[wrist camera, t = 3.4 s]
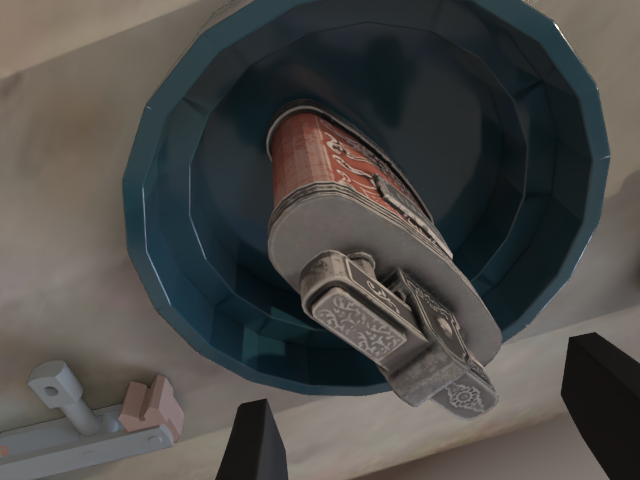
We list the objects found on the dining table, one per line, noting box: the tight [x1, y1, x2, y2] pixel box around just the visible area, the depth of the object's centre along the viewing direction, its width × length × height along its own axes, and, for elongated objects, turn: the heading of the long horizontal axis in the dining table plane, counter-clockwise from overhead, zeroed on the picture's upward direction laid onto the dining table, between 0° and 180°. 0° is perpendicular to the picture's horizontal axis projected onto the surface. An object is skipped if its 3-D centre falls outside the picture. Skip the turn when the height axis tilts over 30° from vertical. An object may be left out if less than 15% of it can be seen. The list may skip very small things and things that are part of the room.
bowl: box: [122, 0, 610, 396], centre depth 17 cm, size 15×15×4 cm
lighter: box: [266, 99, 502, 421], centre depth 15 cm, size 8×3×10 cm, turn 45°
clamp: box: [0, 360, 185, 480], centre depth 24 cm, size 15×2×10 cm
